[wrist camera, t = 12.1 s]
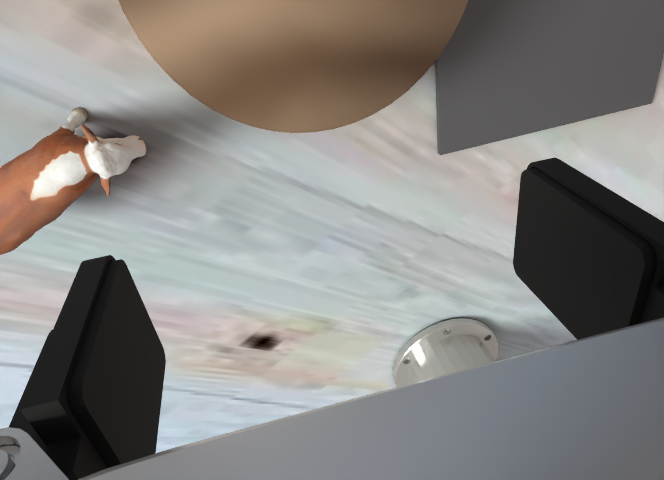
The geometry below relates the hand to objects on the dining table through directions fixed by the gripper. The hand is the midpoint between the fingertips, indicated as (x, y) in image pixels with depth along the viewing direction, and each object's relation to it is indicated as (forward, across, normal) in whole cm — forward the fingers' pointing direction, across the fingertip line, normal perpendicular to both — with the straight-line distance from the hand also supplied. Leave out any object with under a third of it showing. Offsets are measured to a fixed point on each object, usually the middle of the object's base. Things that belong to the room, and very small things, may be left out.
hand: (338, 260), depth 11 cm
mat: (+27, -23, 0) cm, 36 cm away
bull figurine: (+27, +15, +4) cm, 31 cm away
